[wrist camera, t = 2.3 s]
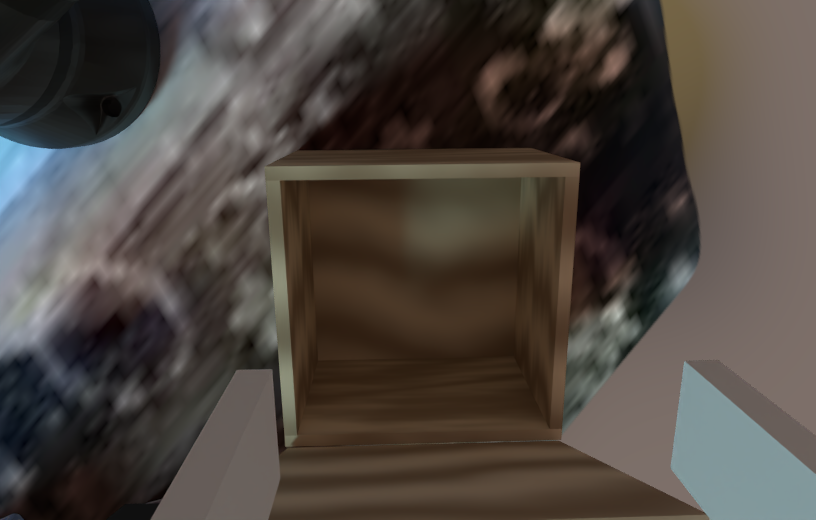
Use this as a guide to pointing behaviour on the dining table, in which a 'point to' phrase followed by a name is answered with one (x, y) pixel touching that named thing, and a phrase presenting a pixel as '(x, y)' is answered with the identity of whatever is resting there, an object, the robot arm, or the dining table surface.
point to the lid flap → (464, 484)
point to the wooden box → (422, 293)
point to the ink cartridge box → (12, 517)
